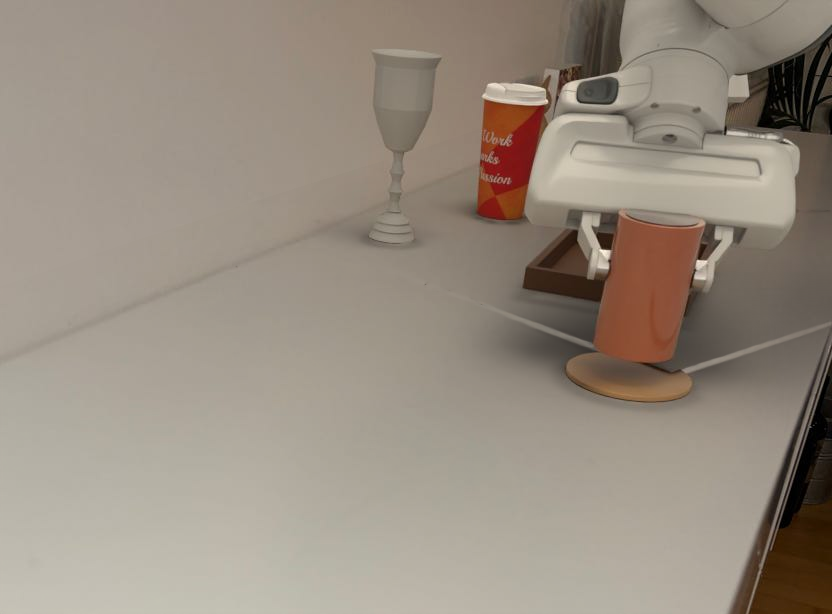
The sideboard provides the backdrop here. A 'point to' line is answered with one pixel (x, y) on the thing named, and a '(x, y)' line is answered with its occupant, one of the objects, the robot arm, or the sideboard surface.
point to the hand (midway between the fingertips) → (648, 282)
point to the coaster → (627, 378)
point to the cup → (647, 284)
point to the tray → (575, 268)
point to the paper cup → (508, 147)
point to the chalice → (401, 123)
